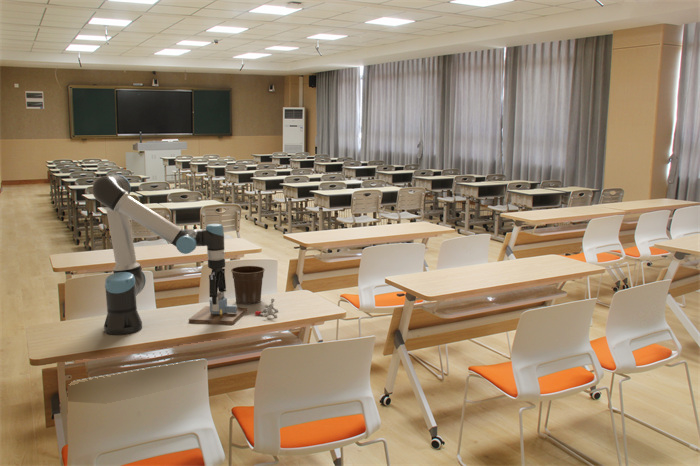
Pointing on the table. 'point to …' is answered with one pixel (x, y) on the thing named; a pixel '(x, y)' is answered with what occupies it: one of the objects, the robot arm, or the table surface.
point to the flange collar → (223, 307)
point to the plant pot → (248, 283)
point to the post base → (216, 316)
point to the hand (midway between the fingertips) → (218, 308)
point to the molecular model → (268, 310)
